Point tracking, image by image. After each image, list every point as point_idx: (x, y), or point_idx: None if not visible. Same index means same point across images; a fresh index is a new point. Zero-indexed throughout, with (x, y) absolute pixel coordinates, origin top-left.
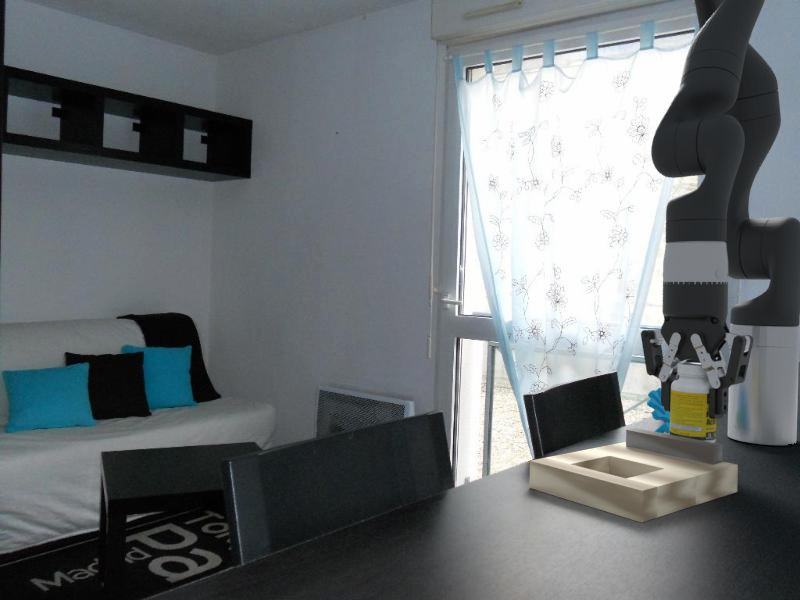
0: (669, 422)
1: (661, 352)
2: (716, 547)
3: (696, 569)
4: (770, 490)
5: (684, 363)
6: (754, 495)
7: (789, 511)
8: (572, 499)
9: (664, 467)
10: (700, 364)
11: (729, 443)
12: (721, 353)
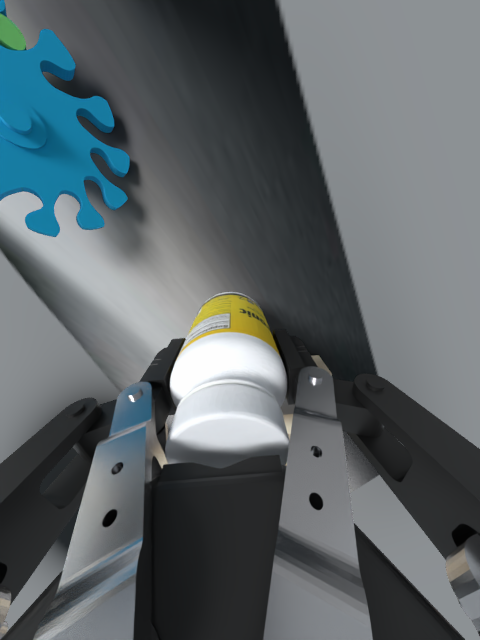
0: (62, 192)
1: (13, 500)
2: (355, 449)
3: (358, 469)
4: (339, 321)
5: None
6: (334, 350)
7: (372, 366)
8: None
9: (289, 431)
10: (244, 448)
11: (115, 10)
12: (347, 486)
